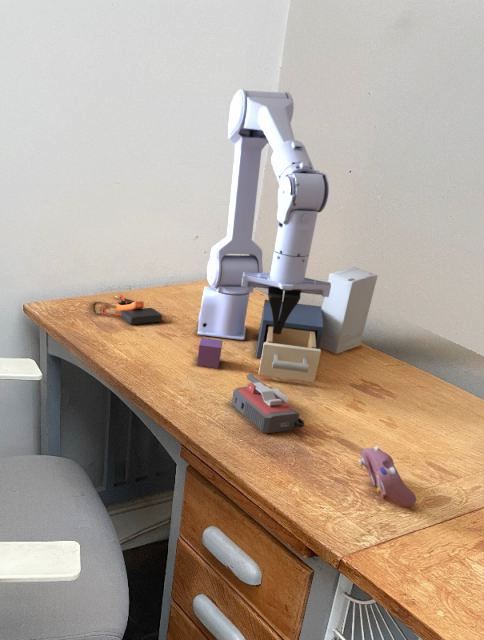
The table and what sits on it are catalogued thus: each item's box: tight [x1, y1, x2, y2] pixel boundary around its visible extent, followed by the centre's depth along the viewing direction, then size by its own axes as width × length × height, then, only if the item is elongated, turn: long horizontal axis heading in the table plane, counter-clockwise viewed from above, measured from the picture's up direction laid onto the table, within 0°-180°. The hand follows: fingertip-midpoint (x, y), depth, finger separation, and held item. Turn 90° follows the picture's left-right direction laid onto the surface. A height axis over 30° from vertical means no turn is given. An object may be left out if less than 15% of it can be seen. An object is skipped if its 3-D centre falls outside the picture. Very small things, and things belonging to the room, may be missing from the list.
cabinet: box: [255, 299, 323, 360], centre depth 151 cm, size 13×11×8 cm
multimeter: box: [92, 294, 163, 325], centre depth 166 cm, size 18×12×3 cm, turn 21°
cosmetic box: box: [319, 266, 379, 355], centre depth 153 cm, size 8×6×15 cm
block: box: [196, 337, 223, 369], centre depth 144 cm, size 4×4×4 cm
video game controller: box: [358, 445, 417, 508], centre depth 108 cm, size 10×5×7 cm, turn 5°
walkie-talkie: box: [230, 373, 305, 434], centre depth 129 cm, size 9×4×20 cm
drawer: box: [257, 325, 322, 383], centre depth 140 cm, size 16×10×6 cm, turn 169°
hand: (276, 332), depth 135 cm, fingers closed
